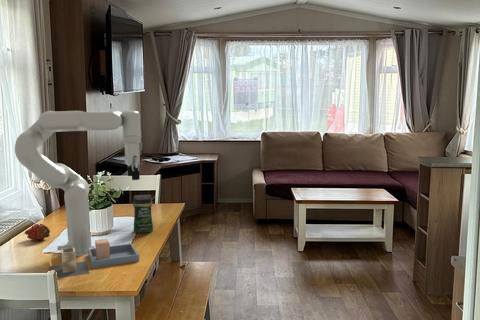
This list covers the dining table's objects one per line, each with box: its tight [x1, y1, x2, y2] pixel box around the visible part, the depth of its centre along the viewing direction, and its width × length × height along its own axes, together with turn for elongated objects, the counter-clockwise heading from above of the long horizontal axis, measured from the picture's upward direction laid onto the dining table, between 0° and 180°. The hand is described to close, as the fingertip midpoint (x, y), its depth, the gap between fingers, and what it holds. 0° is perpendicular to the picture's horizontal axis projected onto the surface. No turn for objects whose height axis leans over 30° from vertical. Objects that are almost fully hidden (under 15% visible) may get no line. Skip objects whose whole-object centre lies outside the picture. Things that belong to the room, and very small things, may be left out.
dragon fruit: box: [24, 223, 51, 242], centre depth 231 cm, size 8×8×12 cm
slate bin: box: [87, 242, 140, 269], centre depth 205 cm, size 19×16×4 cm
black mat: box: [49, 260, 90, 279], centre depth 193 cm, size 14×14×1 cm
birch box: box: [60, 248, 77, 273], centre depth 192 cm, size 5×5×8 cm
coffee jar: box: [132, 194, 154, 234], centre depth 243 cm, size 10×8×19 cm
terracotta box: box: [94, 238, 110, 260], centre depth 203 cm, size 5×5×8 cm
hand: (133, 177), depth 215 cm, fingers open, 9 cm apart
